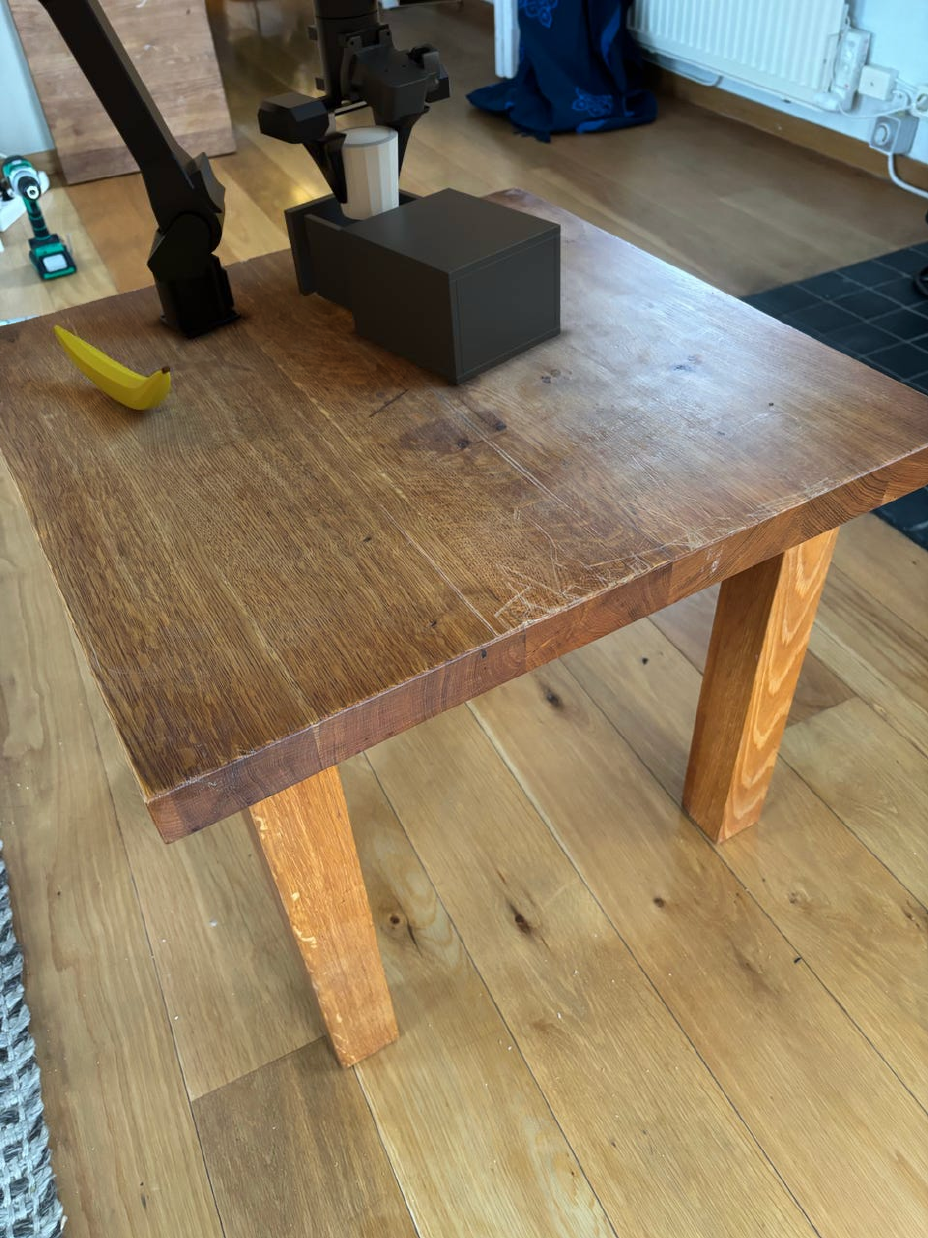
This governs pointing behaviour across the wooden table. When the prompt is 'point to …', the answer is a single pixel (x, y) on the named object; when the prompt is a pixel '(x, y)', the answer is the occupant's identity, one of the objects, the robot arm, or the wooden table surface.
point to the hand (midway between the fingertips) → (368, 193)
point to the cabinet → (454, 282)
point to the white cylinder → (370, 170)
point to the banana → (115, 374)
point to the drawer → (323, 246)
